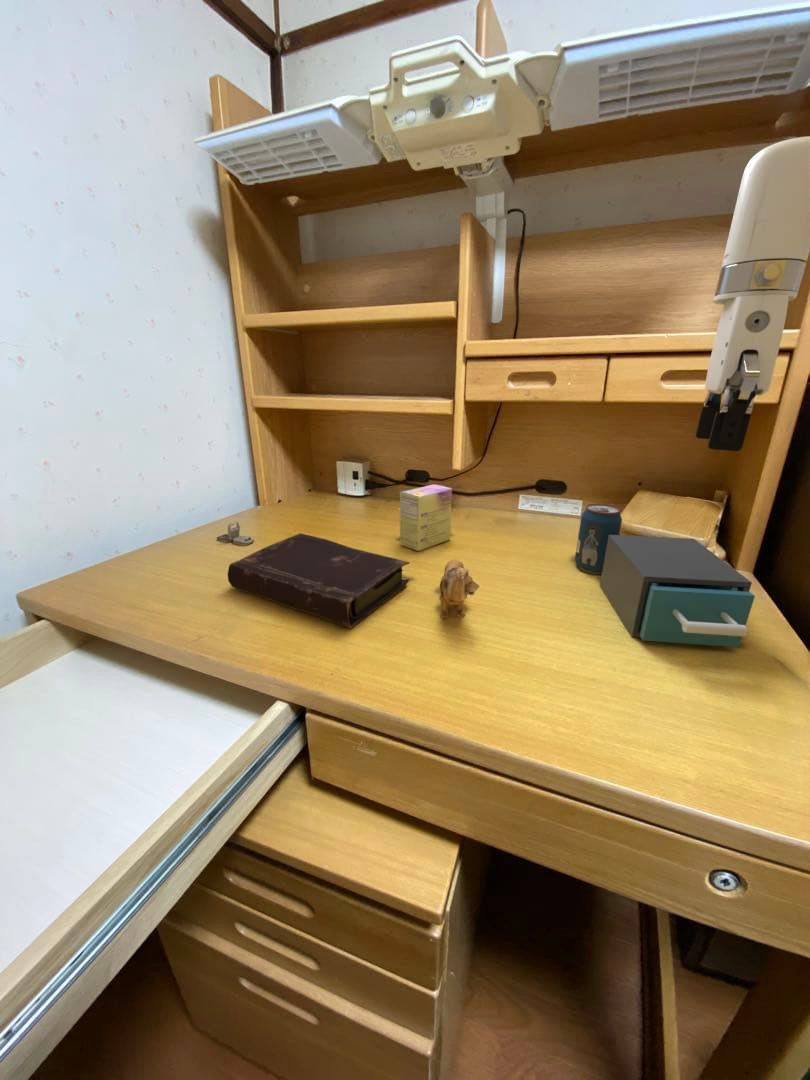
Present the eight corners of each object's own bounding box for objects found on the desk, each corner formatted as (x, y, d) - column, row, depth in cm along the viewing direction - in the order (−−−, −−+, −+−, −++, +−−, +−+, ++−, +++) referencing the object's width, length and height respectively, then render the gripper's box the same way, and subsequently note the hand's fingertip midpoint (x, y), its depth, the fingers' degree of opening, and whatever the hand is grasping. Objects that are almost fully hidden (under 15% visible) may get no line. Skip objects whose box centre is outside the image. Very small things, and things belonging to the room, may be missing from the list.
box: (431, 533, 105) (433, 483, 101) (450, 540, 102) (453, 488, 97) (398, 544, 99) (399, 491, 94) (418, 552, 95) (419, 496, 91)
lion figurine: (477, 630, 67) (482, 574, 64) (441, 630, 67) (444, 574, 64) (461, 585, 81) (464, 537, 78) (431, 585, 81) (433, 537, 77)
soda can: (607, 562, 91) (618, 503, 87) (616, 577, 84) (628, 514, 80) (571, 559, 92) (579, 501, 88) (577, 574, 85) (587, 512, 81)
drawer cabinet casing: (733, 644, 64) (752, 582, 61) (631, 637, 66) (644, 576, 62) (681, 590, 80) (693, 538, 76) (599, 585, 81) (608, 534, 78)
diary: (347, 632, 66) (345, 601, 64) (229, 590, 78) (225, 563, 76) (411, 583, 81) (412, 557, 79) (304, 554, 93) (302, 531, 91)
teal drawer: (760, 668, 58) (778, 614, 55) (655, 660, 59) (668, 607, 56) (687, 594, 76) (698, 550, 74) (609, 589, 78) (617, 546, 75)
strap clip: (255, 542, 99) (253, 523, 98) (245, 546, 97) (243, 527, 95) (226, 535, 103) (223, 517, 101) (215, 540, 100) (212, 521, 99)
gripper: (831, 269, 41) (773, 458, 48) (775, 295, 56) (736, 437, 62) (733, 273, 44) (690, 452, 50) (704, 297, 59) (673, 433, 65)
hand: (715, 443), depth 56 cm, fingers open, 9 cm apart
